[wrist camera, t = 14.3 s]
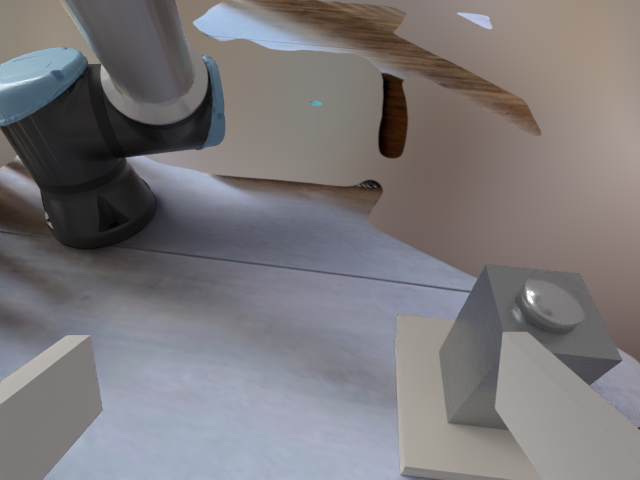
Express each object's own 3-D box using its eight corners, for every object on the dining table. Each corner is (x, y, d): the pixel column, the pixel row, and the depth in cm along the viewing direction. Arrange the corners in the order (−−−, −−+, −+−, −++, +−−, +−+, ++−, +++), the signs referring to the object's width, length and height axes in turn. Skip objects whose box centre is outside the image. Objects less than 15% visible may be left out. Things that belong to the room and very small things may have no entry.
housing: (438, 351, 38) (493, 250, 27) (507, 359, 38) (591, 259, 27) (447, 422, 34) (518, 335, 22) (526, 432, 33) (638, 347, 22)
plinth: (390, 336, 45) (397, 314, 42) (516, 350, 44) (535, 328, 41) (395, 480, 35) (405, 466, 31) (559, 500, 34) (589, 489, 30)
